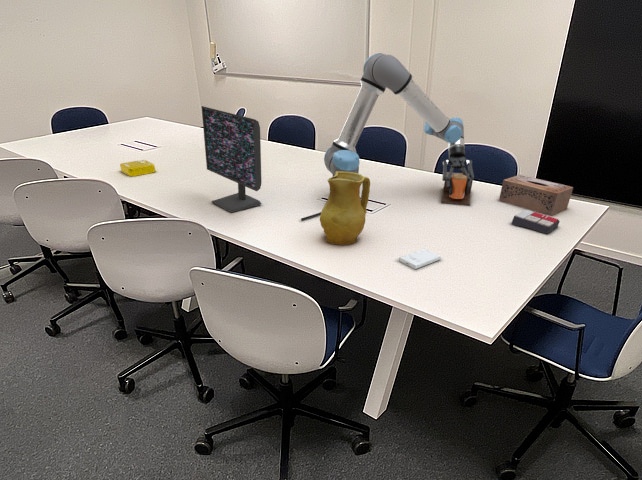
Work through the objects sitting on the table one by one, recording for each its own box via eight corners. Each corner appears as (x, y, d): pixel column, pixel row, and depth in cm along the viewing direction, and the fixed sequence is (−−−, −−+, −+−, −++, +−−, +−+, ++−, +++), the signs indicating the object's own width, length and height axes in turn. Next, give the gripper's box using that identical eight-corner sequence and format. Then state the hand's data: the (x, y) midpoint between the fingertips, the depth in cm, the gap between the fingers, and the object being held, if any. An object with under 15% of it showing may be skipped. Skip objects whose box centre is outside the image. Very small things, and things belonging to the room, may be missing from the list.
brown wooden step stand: (469, 205, 206) (473, 187, 202) (441, 203, 209) (443, 185, 205) (469, 190, 226) (473, 174, 221) (443, 188, 229) (446, 171, 224)
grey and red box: (550, 225, 176) (514, 214, 184) (546, 235, 178) (511, 224, 187) (560, 218, 182) (525, 208, 191) (557, 228, 185) (522, 217, 193)
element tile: (120, 171, 253) (118, 162, 250) (145, 166, 261) (144, 158, 259) (130, 177, 243) (128, 168, 241) (156, 172, 252) (155, 163, 249)
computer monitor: (198, 196, 216) (186, 107, 195) (227, 189, 225) (219, 104, 204) (246, 221, 188) (238, 121, 167) (277, 213, 197) (273, 116, 176)
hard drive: (440, 260, 157) (415, 269, 151) (422, 252, 163) (398, 260, 157) (440, 256, 157) (416, 265, 150) (423, 248, 162) (398, 256, 156)
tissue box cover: (566, 208, 203) (573, 187, 198) (551, 215, 196) (557, 193, 190) (514, 194, 220) (519, 174, 215) (498, 200, 213) (503, 179, 207)
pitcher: (317, 229, 180) (320, 167, 166) (362, 230, 182) (370, 169, 168) (319, 248, 166) (324, 182, 152) (369, 249, 167) (378, 184, 154)
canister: (463, 199, 207) (467, 178, 202) (448, 198, 208) (452, 177, 203) (464, 195, 212) (467, 174, 207) (449, 193, 214) (452, 173, 209)
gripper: (474, 154, 215) (477, 197, 209) (433, 153, 215) (435, 197, 210) (480, 145, 208) (483, 190, 202) (437, 145, 208) (439, 189, 203)
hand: (459, 193), depth 206 cm, fingers closed on canister, 7 cm apart
